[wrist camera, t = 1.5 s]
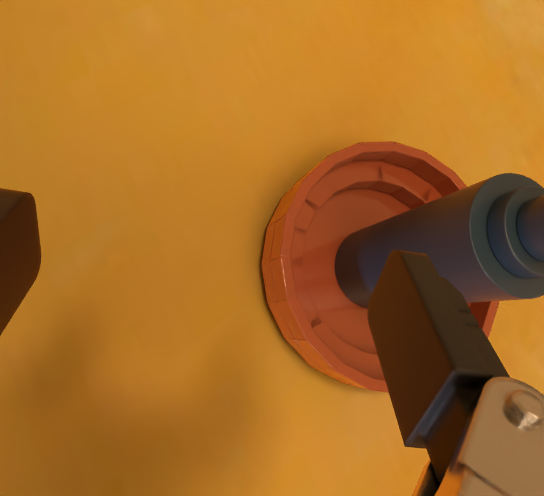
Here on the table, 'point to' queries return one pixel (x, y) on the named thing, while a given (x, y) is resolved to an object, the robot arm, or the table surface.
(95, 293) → the table surface
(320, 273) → the bowl
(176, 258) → the table surface
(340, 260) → the flask
